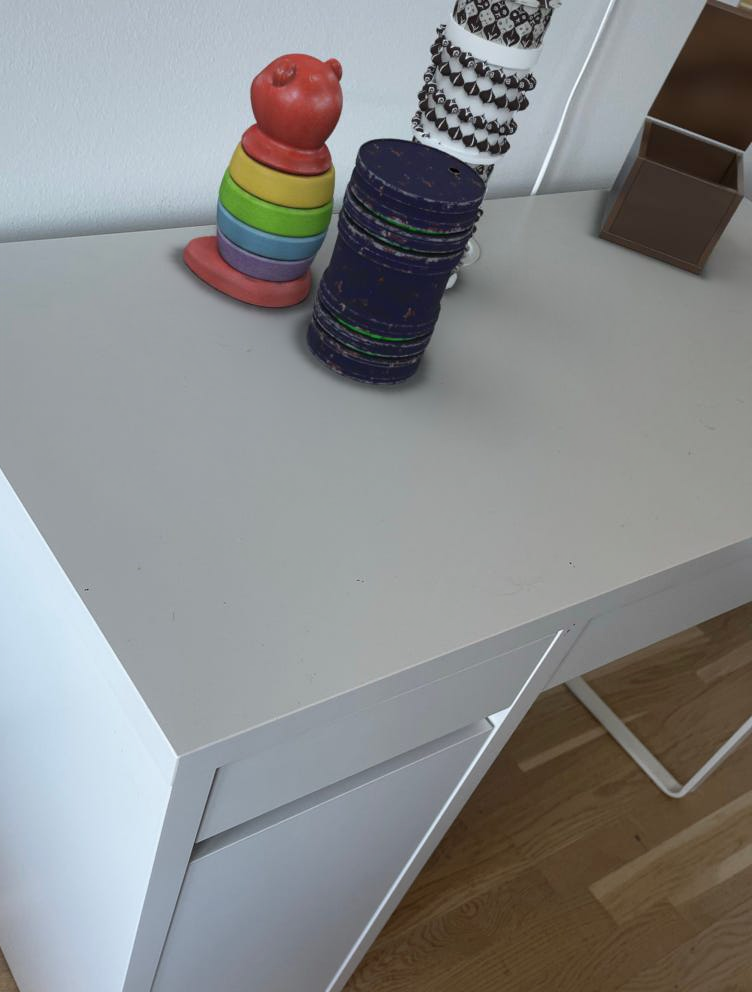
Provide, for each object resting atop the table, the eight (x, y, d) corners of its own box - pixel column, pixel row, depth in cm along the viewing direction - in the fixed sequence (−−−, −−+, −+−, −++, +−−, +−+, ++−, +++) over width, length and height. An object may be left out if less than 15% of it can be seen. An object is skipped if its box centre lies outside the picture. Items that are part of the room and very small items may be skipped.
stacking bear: (276, 242, 91) (327, 29, 78) (337, 302, 86) (402, 86, 73) (173, 252, 85) (209, 25, 72) (233, 317, 81) (282, 86, 68)
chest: (698, 274, 108) (744, 195, 101) (598, 236, 108) (637, 155, 102) (701, 228, 117) (743, 153, 111) (608, 193, 118) (645, 117, 111)
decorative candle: (347, 246, 94) (438, -63, 75) (419, 237, 98) (521, -55, 80) (405, 298, 89) (516, -15, 71) (478, 287, 94) (599, -10, 76)
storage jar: (338, 390, 77) (399, 203, 66) (284, 319, 82) (332, 135, 71) (441, 380, 81) (514, 204, 71) (384, 313, 87) (443, 139, 76)
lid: (819, 43, 96) (831, 7, 97) (706, 2, 97) (719, -33, 98) (744, 152, 110) (756, 119, 111) (646, 115, 111) (658, 83, 112)
